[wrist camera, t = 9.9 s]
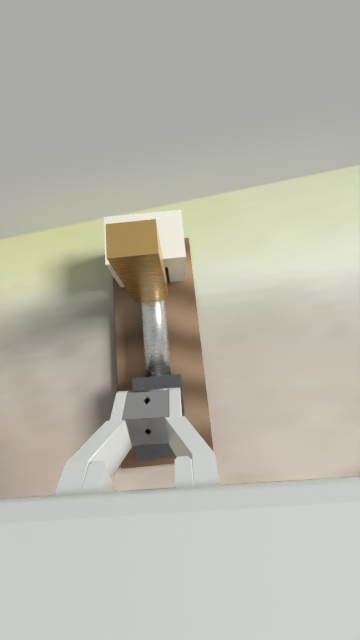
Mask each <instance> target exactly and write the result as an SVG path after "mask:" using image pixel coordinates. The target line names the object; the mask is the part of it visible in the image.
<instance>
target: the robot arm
mask: <svg viewBox="0 0 360 640" xmlns="http://www.w3.org/2000/svg"><path fill="white" fill-rule="evenodd" d="M167 443H169V445H170V447H171V449H172V450H173V452H174V454H175V455H176V457H177V458H176V459H175V484H174V488H161V489H145V490H129V491H115V489H114V486H113V483H112V481H111V477H112V476H113V475H114V473H115V472H116V470H117V469H118V467H119V466H120V464H121V463H122V461H123V460H124V458H125V457H126V455H127V454H128V452H129V451H130V449H131V448H132V446H135V445H146V444H167ZM0 640H360V476H355V477H339V478H323V479H307V480H291V481H274V482H258V483H242V484H226V485H220V484H219V477H218V471H217V464H216V458H215V453H214V452H213V451H212V449H211V448H210V447H209V446H208V445H207V443H206V442H205V441H204V440H203V438H202V437H201V436H200V435H199V433H198V432H197V431H196V430H195V428H194V427H193V426H192V425H191V424H190V422H189V421H188V420H187V419H186V417H185V416H182V405H181V392H180V388H170V389H169V388H165V389H152V390H135V391H117V393H116V395H115V399H114V403H113V408H112V412H111V416H110V420H109V421H106V422H105V423H104V424H103V425H102V426H101V427H100V428H99V429H98V430H97V431H96V432H95V433H94V434H93V435H92V436H91V437H90V438H89V439H88V440H87V441H86V442H85V443H84V444H83V446H82V447H81V448H80V449H79V450H78V451H77V452H76V453H75V454H74V455H73V456H72V457H71V458H70V459H69V460H68V461H67V462H66V464H65V467H64V470H63V473H62V475H61V478H60V481H59V484H58V487H57V489H56V492H55V495H49V496H33V497H17V498H0Z"/></svg>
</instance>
